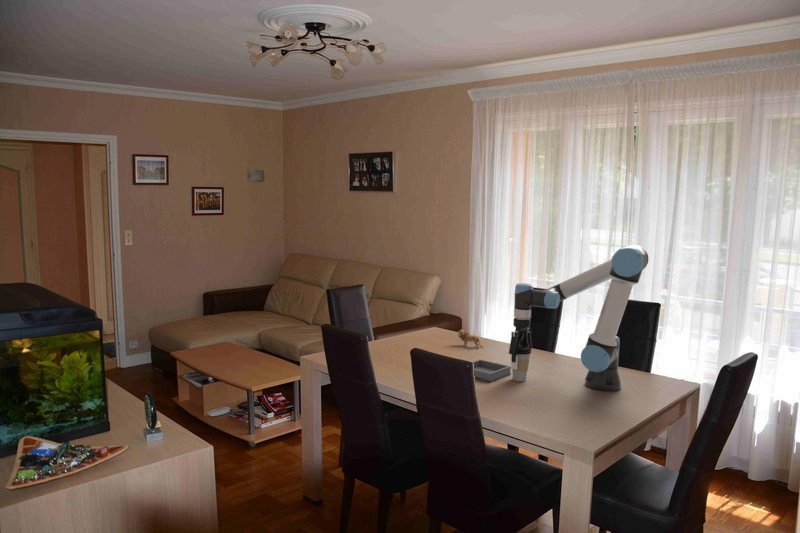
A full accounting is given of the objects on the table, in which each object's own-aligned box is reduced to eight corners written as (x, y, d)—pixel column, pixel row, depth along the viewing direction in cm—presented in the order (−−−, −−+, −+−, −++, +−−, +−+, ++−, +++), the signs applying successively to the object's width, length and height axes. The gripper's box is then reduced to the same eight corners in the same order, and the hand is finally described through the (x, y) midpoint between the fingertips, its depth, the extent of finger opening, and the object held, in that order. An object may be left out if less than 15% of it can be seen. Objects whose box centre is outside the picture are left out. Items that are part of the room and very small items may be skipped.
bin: (510, 374, 281) (510, 366, 281) (490, 382, 269) (490, 373, 268) (479, 367, 292) (480, 359, 292) (459, 374, 280) (459, 366, 279)
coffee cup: (528, 377, 278) (530, 345, 276) (531, 383, 269) (532, 350, 267) (507, 376, 279) (509, 344, 277) (509, 382, 270) (511, 349, 268)
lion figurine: (456, 346, 333) (456, 330, 332) (459, 344, 338) (460, 328, 337) (481, 349, 327) (482, 333, 325) (484, 347, 331) (485, 331, 330)
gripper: (526, 313, 281) (524, 360, 284) (501, 320, 265) (499, 369, 267) (541, 315, 276) (539, 363, 279) (517, 322, 260) (514, 373, 262)
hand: (519, 366), depth 273 cm, fingers closed on coffee cup, 9 cm apart
